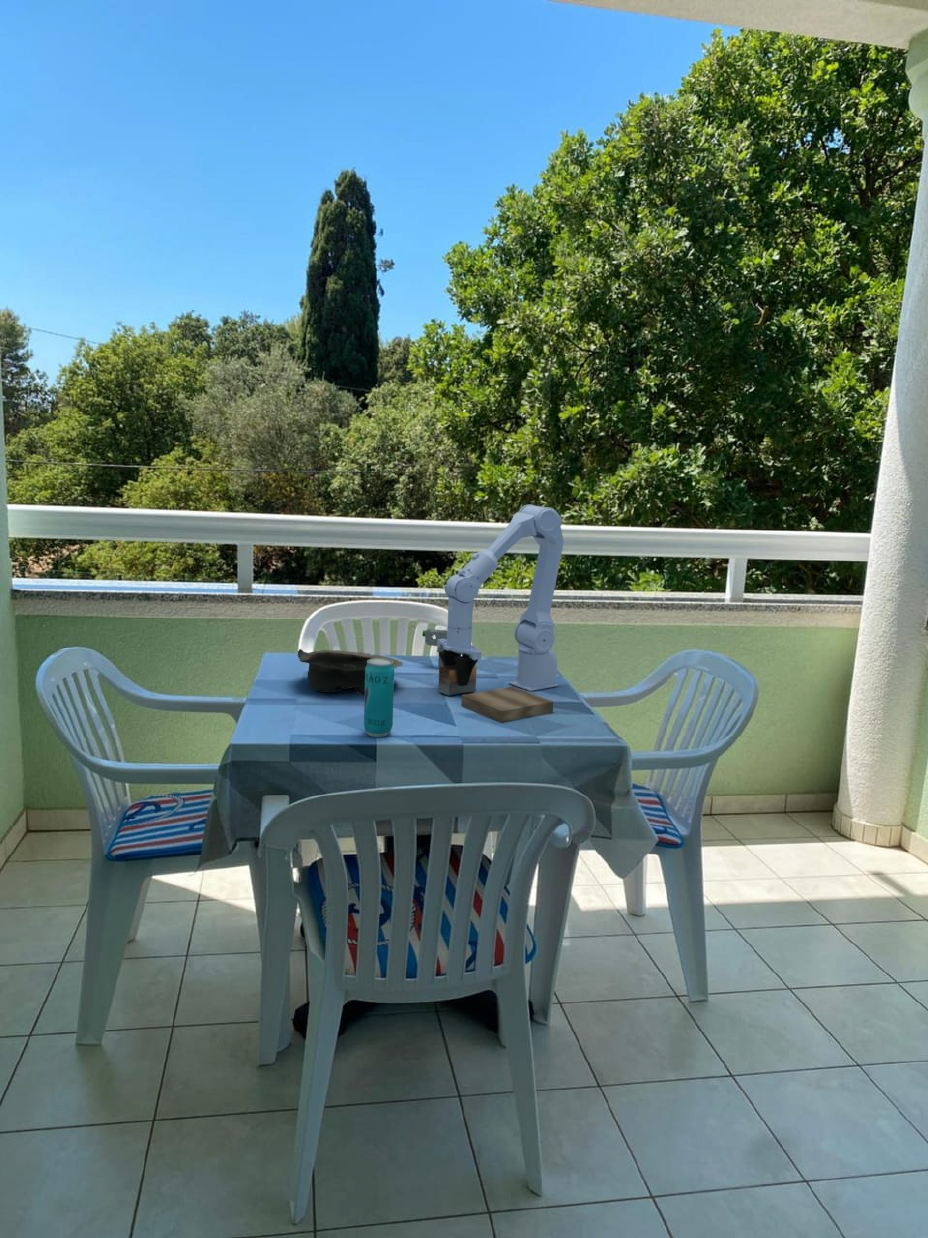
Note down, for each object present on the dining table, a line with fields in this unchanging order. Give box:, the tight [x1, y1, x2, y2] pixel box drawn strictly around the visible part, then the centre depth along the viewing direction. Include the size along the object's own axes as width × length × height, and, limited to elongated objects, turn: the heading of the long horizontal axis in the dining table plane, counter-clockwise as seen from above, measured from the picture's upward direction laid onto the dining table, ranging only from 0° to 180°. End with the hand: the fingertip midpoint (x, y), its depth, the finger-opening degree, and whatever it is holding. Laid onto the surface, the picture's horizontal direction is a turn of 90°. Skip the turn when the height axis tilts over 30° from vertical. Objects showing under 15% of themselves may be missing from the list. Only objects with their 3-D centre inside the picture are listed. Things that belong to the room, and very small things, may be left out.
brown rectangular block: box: [437, 664, 478, 696], centre depth 214 cm, size 8×4×6 cm, turn 128°
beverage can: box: [363, 658, 395, 738], centre depth 181 cm, size 6×6×15 cm
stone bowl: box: [297, 648, 404, 695], centre depth 215 cm, size 25×25×9 cm
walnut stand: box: [461, 685, 554, 723], centre depth 203 cm, size 15×14×2 cm
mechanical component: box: [422, 628, 447, 670], centre depth 235 cm, size 3×10×10 cm, turn 78°
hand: (457, 683), depth 214 cm, fingers closed on brown rectangular block, 4 cm apart
